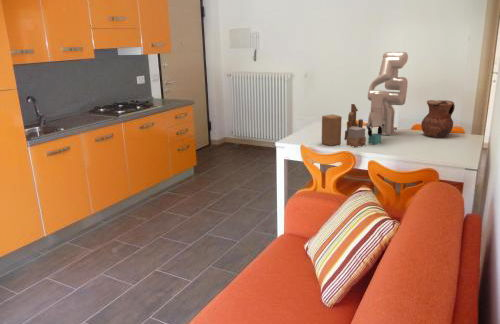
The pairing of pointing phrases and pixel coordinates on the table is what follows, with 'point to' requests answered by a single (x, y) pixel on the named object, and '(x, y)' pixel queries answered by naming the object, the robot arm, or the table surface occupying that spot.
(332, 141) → the wooden block
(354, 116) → the wooden toy
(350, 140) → the tower base
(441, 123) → the jug
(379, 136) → the teal cube
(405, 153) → the table surface
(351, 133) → the tower mid
